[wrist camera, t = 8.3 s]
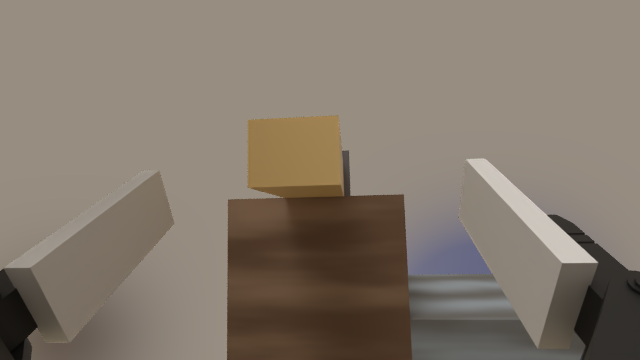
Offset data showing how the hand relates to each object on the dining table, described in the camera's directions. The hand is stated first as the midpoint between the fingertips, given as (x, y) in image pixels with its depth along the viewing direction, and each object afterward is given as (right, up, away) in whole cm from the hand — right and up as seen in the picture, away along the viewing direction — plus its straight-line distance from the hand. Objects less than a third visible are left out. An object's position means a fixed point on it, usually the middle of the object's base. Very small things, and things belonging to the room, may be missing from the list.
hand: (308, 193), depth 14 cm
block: (0, -1, +9) cm, 9 cm away
